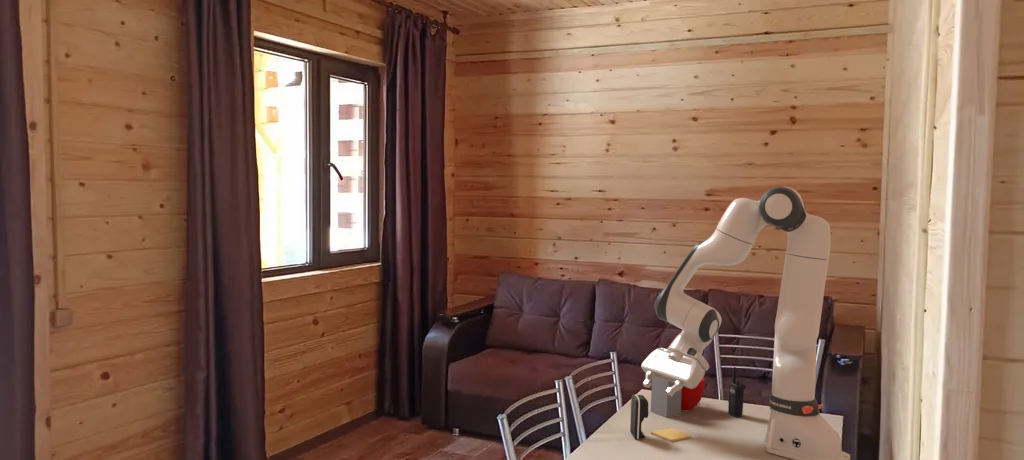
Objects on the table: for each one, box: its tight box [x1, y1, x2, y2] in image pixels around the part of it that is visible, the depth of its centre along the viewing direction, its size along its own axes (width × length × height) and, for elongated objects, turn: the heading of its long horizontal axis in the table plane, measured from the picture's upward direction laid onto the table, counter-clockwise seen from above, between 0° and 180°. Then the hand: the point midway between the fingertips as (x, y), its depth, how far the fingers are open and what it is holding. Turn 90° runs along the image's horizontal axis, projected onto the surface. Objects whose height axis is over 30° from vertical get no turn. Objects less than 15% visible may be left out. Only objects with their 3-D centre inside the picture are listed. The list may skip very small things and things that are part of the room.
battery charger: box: [629, 394, 649, 440], centre depth 213 cm, size 7×4×11 cm, turn 3°
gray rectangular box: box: [650, 377, 682, 418], centre depth 237 cm, size 7×6×15 cm
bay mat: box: [650, 427, 692, 443], centre depth 215 cm, size 8×8×1 cm
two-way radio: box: [727, 366, 746, 418], centre depth 237 cm, size 6×4×15 cm
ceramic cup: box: [681, 376, 706, 412], centre depth 245 cm, size 13×17×10 cm
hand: (656, 390), depth 217 cm, fingers open, 8 cm apart
